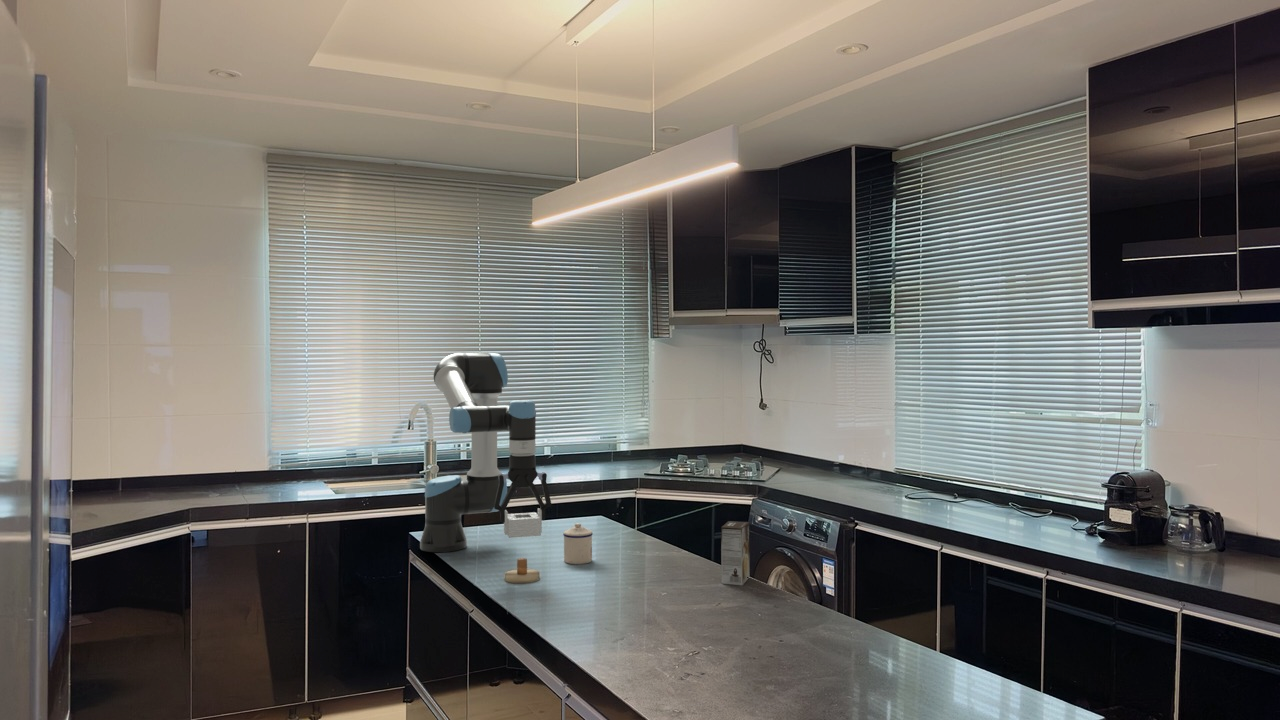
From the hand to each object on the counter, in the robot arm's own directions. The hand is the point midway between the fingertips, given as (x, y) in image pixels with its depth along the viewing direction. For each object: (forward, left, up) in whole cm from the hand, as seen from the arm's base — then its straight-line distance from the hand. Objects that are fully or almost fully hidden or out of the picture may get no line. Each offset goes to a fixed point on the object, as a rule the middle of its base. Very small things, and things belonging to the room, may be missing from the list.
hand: (522, 532), depth 244 cm
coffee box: (+19, +58, -13) cm, 62 cm away
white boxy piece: (0, 0, 0) cm, 0 cm away
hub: (0, 0, -13) cm, 13 cm away
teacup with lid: (-17, +19, -13) cm, 29 cm away
